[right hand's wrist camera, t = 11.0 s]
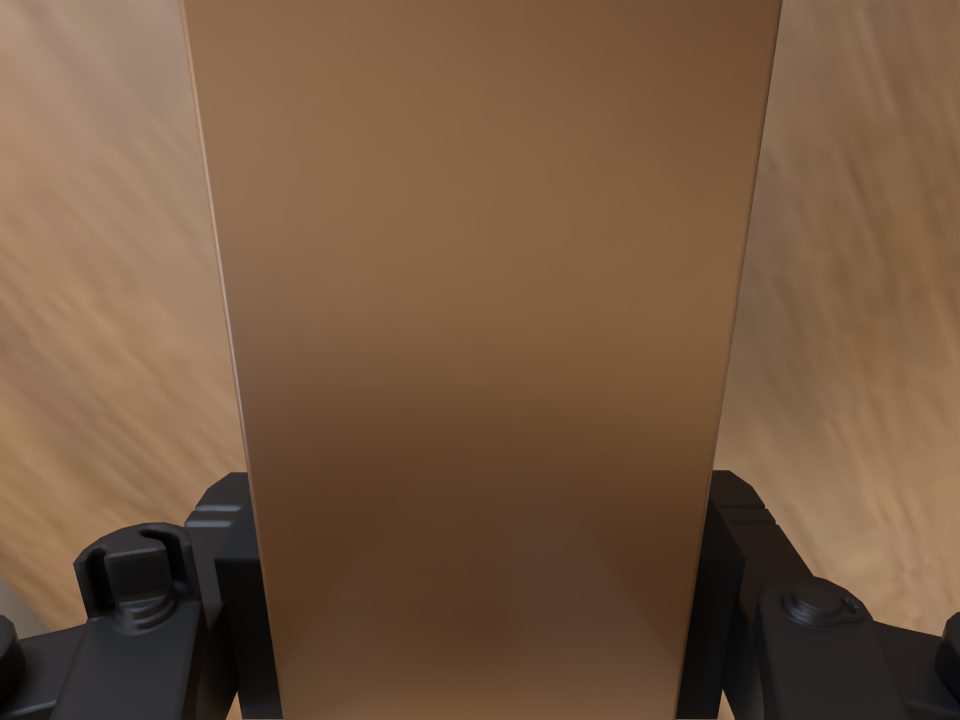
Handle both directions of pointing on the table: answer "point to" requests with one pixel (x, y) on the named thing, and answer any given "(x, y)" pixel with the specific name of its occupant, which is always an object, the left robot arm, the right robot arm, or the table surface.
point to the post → (480, 334)
